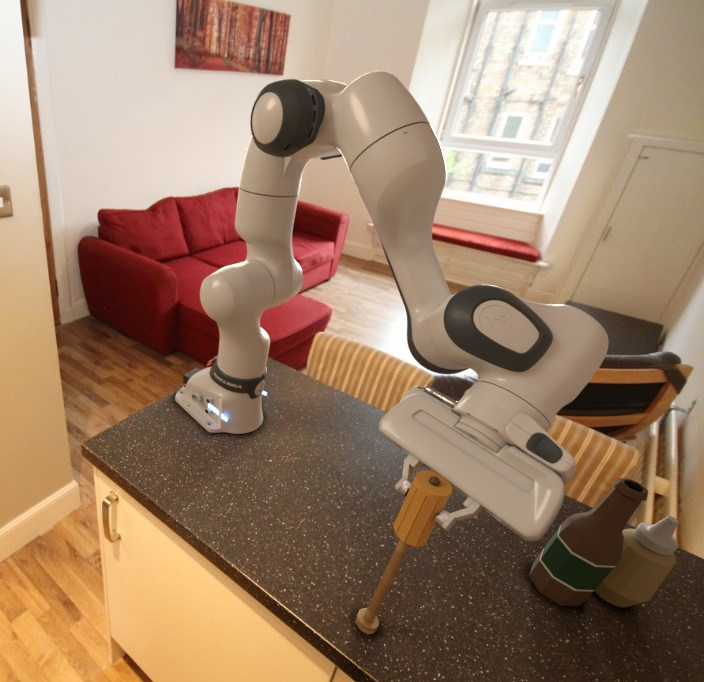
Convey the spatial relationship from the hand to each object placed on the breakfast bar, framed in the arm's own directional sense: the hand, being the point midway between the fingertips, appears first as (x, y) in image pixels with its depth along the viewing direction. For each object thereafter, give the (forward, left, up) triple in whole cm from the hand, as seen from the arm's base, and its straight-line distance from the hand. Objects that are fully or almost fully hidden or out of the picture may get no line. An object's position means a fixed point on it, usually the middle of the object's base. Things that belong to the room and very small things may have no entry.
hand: (419, 509), depth 54 cm
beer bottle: (+21, +30, -26) cm, 45 cm away
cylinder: (0, +1, -5) cm, 5 cm away
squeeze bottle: (+28, +36, -26) cm, 52 cm away
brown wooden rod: (0, +1, -26) cm, 26 cm away
